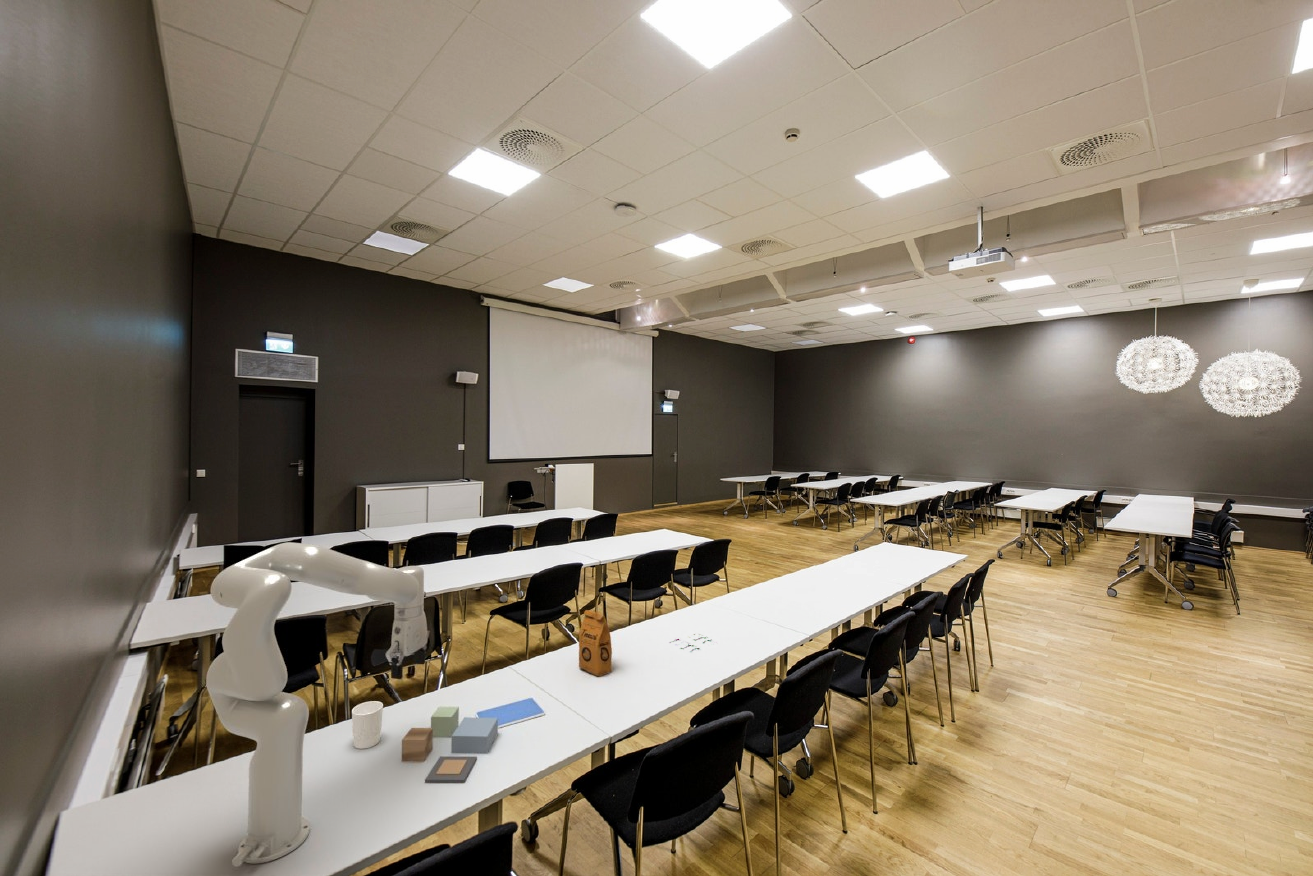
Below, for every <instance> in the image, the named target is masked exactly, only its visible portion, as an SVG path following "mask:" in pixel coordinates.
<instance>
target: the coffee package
mask: <svg viewBox="0 0 1313 876" xmlns="http://www.w3.org/2000/svg"><path fill="white" fill-rule="evenodd" d="M583 614H584V618H583V620H582V622H581V623H582V624H581V626H580V629H579V631H578V633H579V634H578V639H579V640H578V648H579V649H578V668H580V669H582V670H584V671H587V672H588V673H589V674H591V675H593V676H597V677H598V678H599V677H601V676H604V675H607V674H610V673H612V656H613V651H612V650H613V649H612V638H611V633H610V632H611V631H610V629H609V628H610V627H609V626H608V621H607V619H606V617H605V615H603V614H601V613H600V612H599V613H598V612H596V611H592V610H588V609H586V610H584V612H583ZM606 673H607V674H606Z"/></svg>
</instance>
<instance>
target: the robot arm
mask: <svg viewBox="0 0 1313 876" xmlns="http://www.w3.org/2000/svg"><path fill="white" fill-rule="evenodd" d="M424 575H425V572H424V569H423V568H422V567H421V566H419V565H418V566H417V565H409V566H407V565H406V566H403V567H400V568H397V569H395V568H391V567H387V566H384V565H380V564H377V563H374V562H370V561H368V560H363V559H360V558H356V557H354V556H350V555H347V554H345V553H341V552H340V551H339V552H338V551H336V550H334V549H333V550H332V549H331V548H327V547H324V546H320V545H317V544H310V543H302V542H301V543H300V542H291V541H289V542H283V543H279V544H276V545H274V546H271V547H269V548H267V549H264V550H262V551H260V552H257V553H256V554H253V555H251V556H248V557H247V558H245V559H242V560H241V561H239V562H236V563H234V564H232V565H230V566H228V567H226V568H224V569H223V570H222V571H221V572H219V574H217V575H216V577H215V578H214V579H213V581H212V583H211V586H210V596H211V597H212V599H213V601H214V602H215V603H217V604H218V605H220V606H221V607H222V606H223V607H225V608H231V609H237V610H235V613H234V615H233V616H232V618H231V619H230V621H229V622H228V624H227V626H226V628H225V630H224V632H223V633H222V640H221V644H222V649H223V652H222V653H220V654H218V656H217V657H216V658H214V660H213V661H212V662H211V664H210V666H209V668H208V670H207V673H206V677H205V678H206V679H205V680H206V681H205V684H206V690H207V691H208V695H209V696H210V697H209V698H210V699H211V702H212V704H213V707H214V710H215V711H216V713H217V716H218V719H219V721H220V722H221V725H222V726H223V727H224V729H226V730H227V732H229V733H231V734H233V735H236V736H240V737H243V738H248V739H250V740H253V741H255V742H256V743H257V744H256V748H255V751H254V753H253V754H252V755H251V758H250V761H249V767H248V797H247V798H248V803H247V804H248V808H247V810H248V811H247V813H248V815H247V835H246V836H245V837H243V839H242V841H240V842H239V845H238V849H237V852H238V853H237V854H236V855H235V856H234V857H233V858H232V860H231V864H232V866H233V867H240V866H241V865H242V864H243V863H247V864H263V863H267V862H271V861H274V860H276V859H280V858H281V857H284V856H286V855H287V854H289V853H291V852H293V851H294V850H295V849H297V848H299V847H300V846H301V845H302V844H303V843H304V842H305V841H306V839H307V837H308V836H309V834H310V830H311V824H310V821H309V820H308V819H307V818H305V817H303V816H302V815H303V814H302V812H303V770H304V769H303V767H304V766H303V765H304V764H303V759H304V756H303V753H304V740H305V734H306V731H307V730H306V729H307V725H308V721H309V716H310V715H309V714H310V711H309V706H308V704H307V703H306V701H305V700H304V699H303V698H301V697H300V696H298V695H295V694H293V693H288V692H284V691H283V690H284V688H285V687H286V684H287V682H288V671H287V670H288V669H287V666H286V664H285V663H286V662H285V661H284V660H285V659H284V657H283V655H282V652H281V650H280V647H279V645H278V641H277V637H276V635H275V634H276V633H275V624H276V620H277V618H278V617H279V615H280V613H281V611H282V610H283V608H284V607H285V606H286V604H287V602H288V600H289V598H290V597H291V593H292V586H293V585H292V582H291V581H293V582H294V581H295V582H300V583H304V584H308V585H311V586H316V587H320V588H323V589H327V590H330V591H335V592H338V593H344V594H350V595H355V596H366V597H368V598H369V599H371V600H372V601H376V602H378V601H379V602H384V603H385V602H386V603H393V604H394V615H393V616H394V617H393V618H394V619H393V623H392V631H391V633H392V634H391V646H390V648H389V649H388V650H387V651H386V652H385V658H386V659H387V660H386V661H387V663H388V664H389V665H390V678H391V679H394V680H402V679H403V673H404V672H403V669H404V667H403V664H402V662H403V660H404V658H405V657H408V656H411V655H412V654H414V658H413V663H414V664H415V665H425V663H426V650H427V645H428V642H429V637H430V632H431V631H430V630H428V624H427V617H426V613H425V611H424V609H425V608H424V606H425V605H424V604H425V603H424V601H425V599H424V595H425V593H424V592H425V591H424V590H425V587H424V586H425V585H424V583H425V579H424V578H425V576H424ZM397 657H398V659H397Z"/></svg>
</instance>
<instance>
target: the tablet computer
mask: <svg viewBox="0 0 1313 876" xmlns="http://www.w3.org/2000/svg"><path fill="white" fill-rule="evenodd" d="M545 715H546V712H545V710H544V709H543V708H542V707H541V706H540V704H539V703H538V702H537V701H536V700H535V698H534V697H529V698H524V699H522V700H518V701H514V702H511V703H506V704H503V705H499V706H495V707H491V708H487V709H484V710H481V711H477V712H475V714H474V716H475V718H498V729H502V728H505V727H507V726H512V725H515V724H518V723H521V722H525V721H528V720H532V719H536V718H539V717H542V716H545Z"/></svg>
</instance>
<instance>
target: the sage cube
mask: <svg viewBox="0 0 1313 876" xmlns="http://www.w3.org/2000/svg"><path fill="white" fill-rule="evenodd" d="M459 711H460V707H459V706H438V707H437V708H436V709H435V711H434V712H433V714H432V715H431V716H430V728H433V738H452V735H453V733H454V732H455V730H456V729H457V727H458V726H459V719H460V718H459V717H460V716H459V715H460V713H459Z"/></svg>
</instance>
